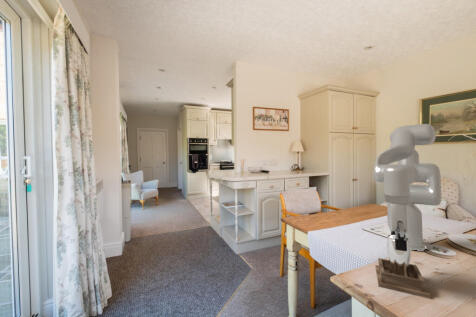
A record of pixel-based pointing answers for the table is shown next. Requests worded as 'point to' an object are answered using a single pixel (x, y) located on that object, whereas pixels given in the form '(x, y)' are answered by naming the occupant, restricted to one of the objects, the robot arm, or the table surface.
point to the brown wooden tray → (401, 280)
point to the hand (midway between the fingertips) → (398, 244)
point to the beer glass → (398, 257)
